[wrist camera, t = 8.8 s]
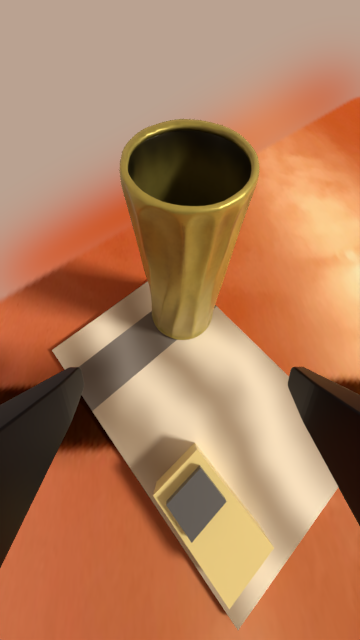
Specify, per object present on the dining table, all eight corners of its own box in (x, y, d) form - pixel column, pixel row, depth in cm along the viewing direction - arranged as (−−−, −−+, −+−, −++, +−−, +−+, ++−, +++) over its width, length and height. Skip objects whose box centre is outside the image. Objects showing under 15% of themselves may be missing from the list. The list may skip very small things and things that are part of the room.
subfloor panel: (234, 617, 14) (237, 630, 13) (56, 352, 20) (51, 350, 19) (356, 447, 17) (364, 450, 17) (172, 267, 24) (172, 263, 23)
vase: (155, 283, 22) (120, 108, 9) (212, 287, 22) (265, 115, 9) (149, 338, 20) (89, 216, 7) (212, 342, 20) (282, 227, 6)
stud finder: (259, 525, 15) (278, 554, 12) (221, 575, 14) (231, 620, 11) (194, 442, 17) (198, 451, 14) (156, 481, 16) (151, 499, 13)
